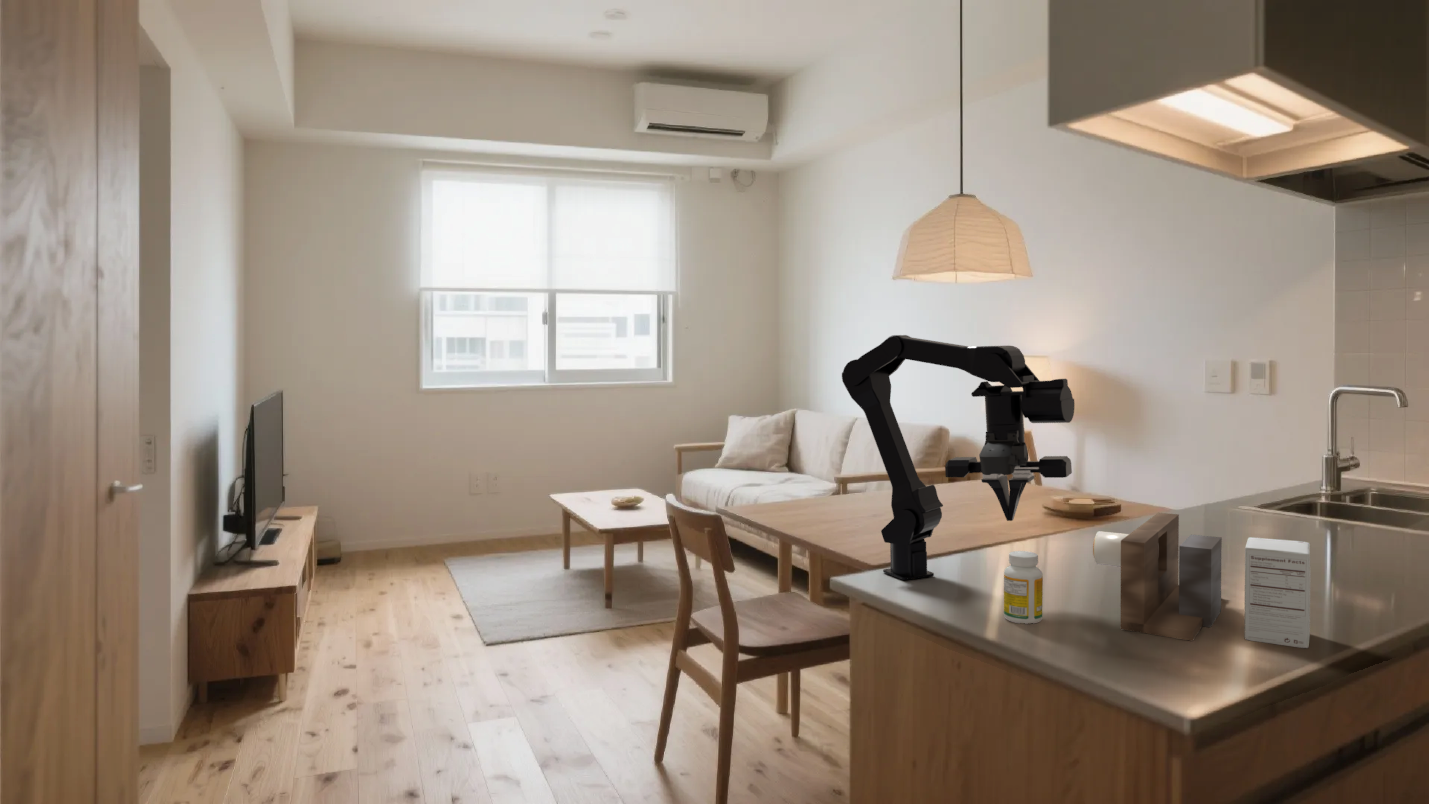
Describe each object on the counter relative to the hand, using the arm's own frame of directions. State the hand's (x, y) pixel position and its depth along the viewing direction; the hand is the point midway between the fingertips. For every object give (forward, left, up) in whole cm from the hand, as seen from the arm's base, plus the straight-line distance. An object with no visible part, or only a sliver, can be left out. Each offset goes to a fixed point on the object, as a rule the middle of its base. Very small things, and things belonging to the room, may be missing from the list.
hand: (1010, 520), depth 145 cm
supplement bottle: (+12, -8, -12) cm, 19 cm away
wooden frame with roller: (+20, +13, -12) cm, 27 cm away
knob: (+14, +9, -6) cm, 18 cm away
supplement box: (+34, +16, -12) cm, 39 cm away
